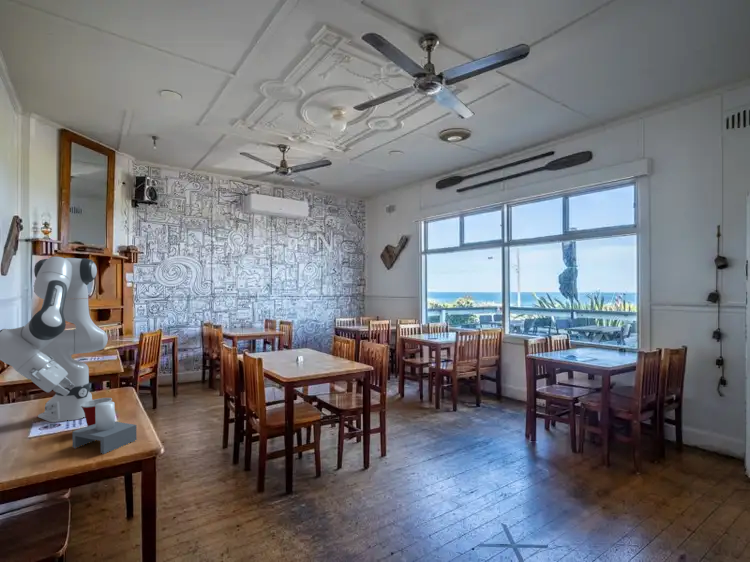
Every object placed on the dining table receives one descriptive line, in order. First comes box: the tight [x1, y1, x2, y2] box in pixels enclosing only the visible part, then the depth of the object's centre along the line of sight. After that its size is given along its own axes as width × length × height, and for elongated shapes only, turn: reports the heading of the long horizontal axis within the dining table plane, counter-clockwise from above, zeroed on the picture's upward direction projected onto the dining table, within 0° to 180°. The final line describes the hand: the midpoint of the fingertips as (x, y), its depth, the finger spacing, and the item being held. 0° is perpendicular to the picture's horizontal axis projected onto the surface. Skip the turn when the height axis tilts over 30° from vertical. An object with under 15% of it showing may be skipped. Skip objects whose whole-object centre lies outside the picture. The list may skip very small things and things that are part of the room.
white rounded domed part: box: [95, 401, 116, 431], centre depth 154 cm, size 6×6×9 cm
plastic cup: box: [81, 397, 113, 426], centre depth 169 cm, size 11×11×12 cm
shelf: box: [72, 421, 137, 455], centre depth 154 cm, size 16×13×6 cm
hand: (70, 390), depth 149 cm, fingers open, 8 cm apart
